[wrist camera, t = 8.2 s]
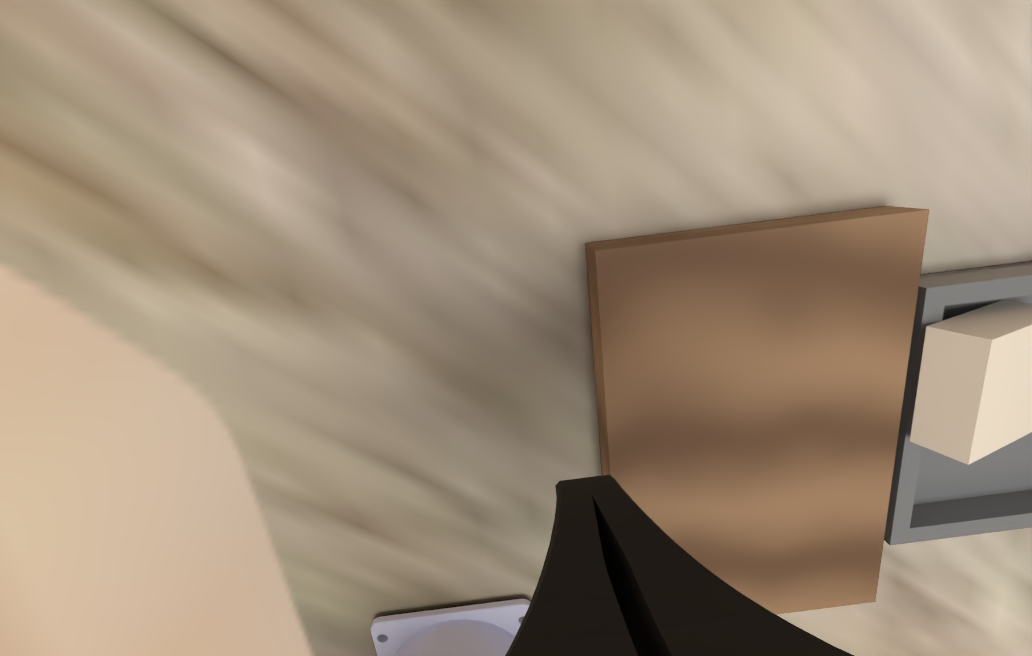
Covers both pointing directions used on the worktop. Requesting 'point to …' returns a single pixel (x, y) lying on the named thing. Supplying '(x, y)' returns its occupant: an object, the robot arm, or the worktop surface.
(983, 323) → the block
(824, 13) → the worktop surface
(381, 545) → the worktop surface
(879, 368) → the board
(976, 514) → the tray
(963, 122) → the worktop surface
